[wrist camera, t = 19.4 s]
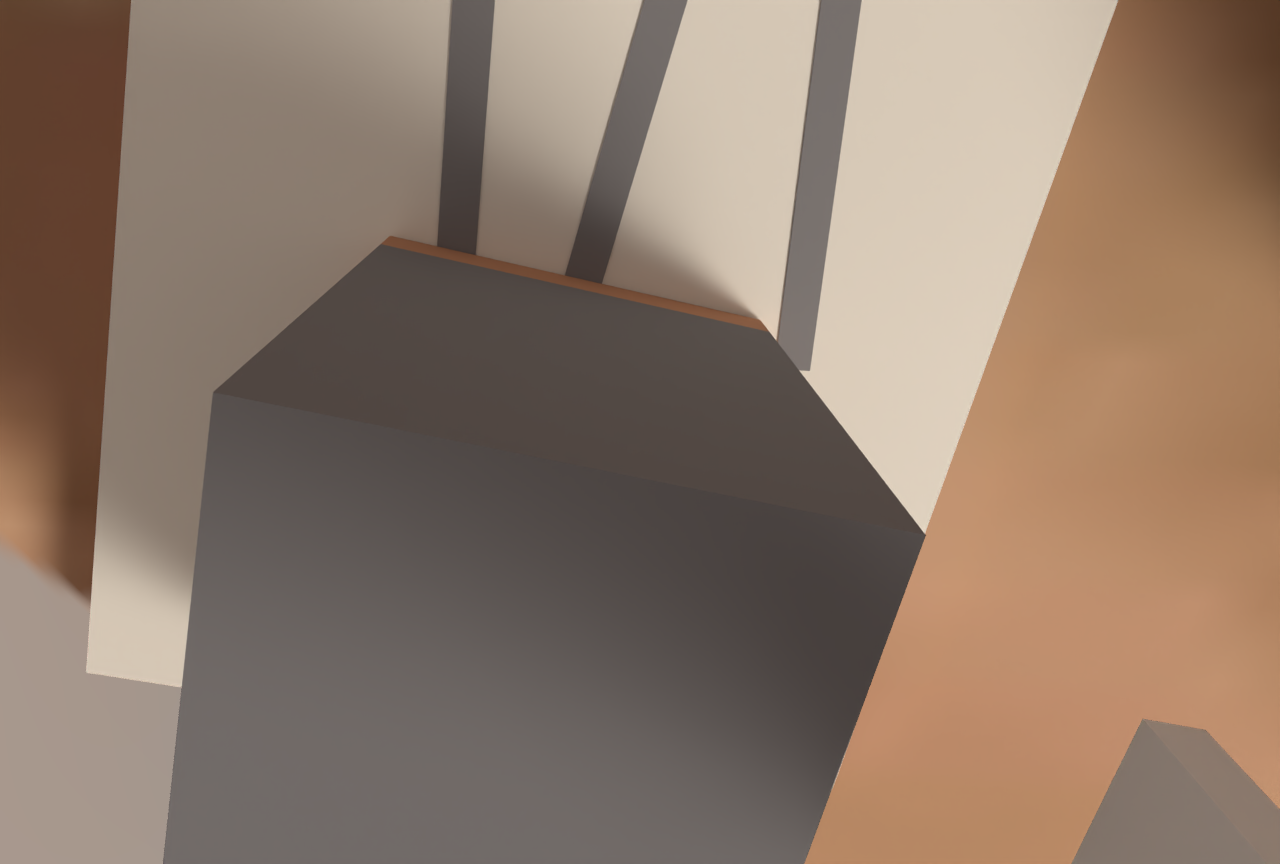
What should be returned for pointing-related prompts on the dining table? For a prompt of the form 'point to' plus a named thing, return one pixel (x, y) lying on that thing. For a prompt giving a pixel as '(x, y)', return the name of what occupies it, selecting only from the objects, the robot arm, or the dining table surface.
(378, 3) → the board
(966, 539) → the dining table surface
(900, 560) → the block
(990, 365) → the dining table surface
